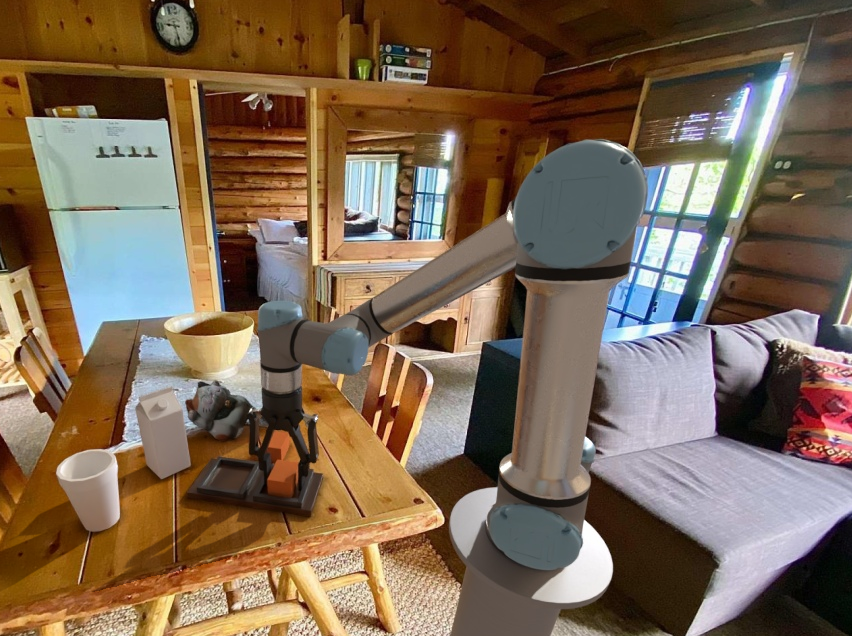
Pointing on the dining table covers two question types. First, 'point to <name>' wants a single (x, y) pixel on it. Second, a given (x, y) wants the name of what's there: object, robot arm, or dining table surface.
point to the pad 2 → (283, 479)
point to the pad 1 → (278, 445)
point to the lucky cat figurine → (218, 411)
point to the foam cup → (92, 487)
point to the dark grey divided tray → (251, 487)
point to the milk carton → (163, 432)
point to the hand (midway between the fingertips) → (284, 484)
